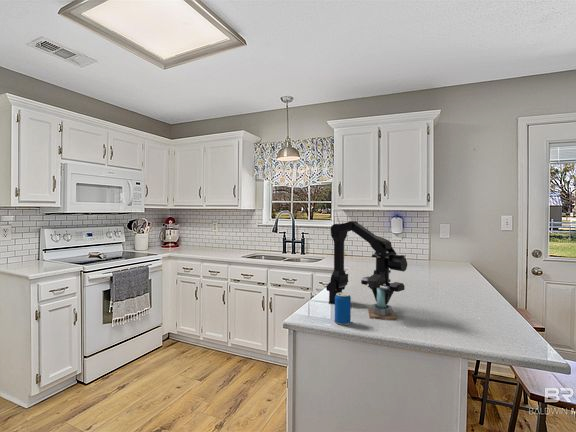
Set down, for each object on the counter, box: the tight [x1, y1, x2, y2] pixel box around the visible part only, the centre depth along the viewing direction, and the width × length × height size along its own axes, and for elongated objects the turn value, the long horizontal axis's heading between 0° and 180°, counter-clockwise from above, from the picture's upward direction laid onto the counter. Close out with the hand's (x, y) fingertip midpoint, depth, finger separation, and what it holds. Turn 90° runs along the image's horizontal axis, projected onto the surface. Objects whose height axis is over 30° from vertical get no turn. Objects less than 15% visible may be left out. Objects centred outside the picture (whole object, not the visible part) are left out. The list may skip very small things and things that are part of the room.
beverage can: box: [334, 291, 352, 326], centre depth 135 cm, size 6×6×12 cm
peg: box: [376, 286, 388, 308], centre depth 145 cm, size 4×4×10 cm
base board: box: [367, 308, 397, 321], centre depth 145 cm, size 11×11×1 cm
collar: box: [371, 303, 393, 316], centre depth 145 cm, size 8×8×3 cm
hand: (381, 302), depth 145 cm, fingers closed on peg, 4 cm apart
